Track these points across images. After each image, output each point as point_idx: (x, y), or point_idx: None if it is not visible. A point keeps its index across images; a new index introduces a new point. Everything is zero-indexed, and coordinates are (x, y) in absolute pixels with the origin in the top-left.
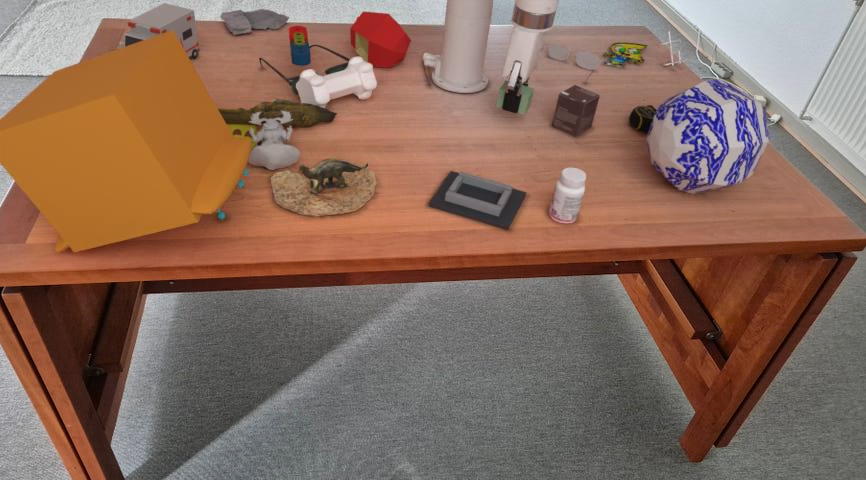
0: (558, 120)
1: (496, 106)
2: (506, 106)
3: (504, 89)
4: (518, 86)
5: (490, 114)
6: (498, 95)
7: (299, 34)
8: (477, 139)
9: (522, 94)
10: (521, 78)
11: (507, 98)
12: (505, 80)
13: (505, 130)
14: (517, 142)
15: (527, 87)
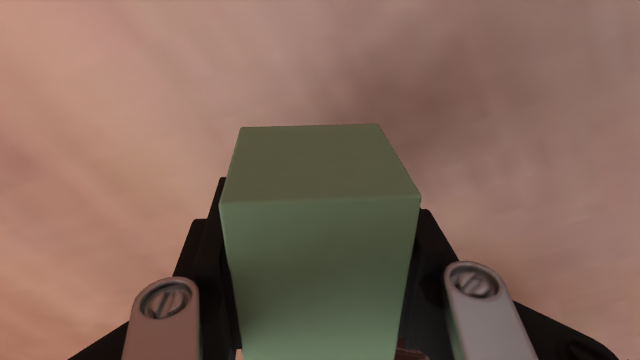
0: None
1: (239, 131)
2: (192, 226)
3: (229, 244)
4: (357, 307)
5: (331, 50)
6: (229, 169)
7: None
8: (9, 78)
9: (248, 357)
10: (441, 336)
11: (177, 264)
12: (415, 198)
13: (211, 172)
14: (145, 245)
15: (378, 349)
